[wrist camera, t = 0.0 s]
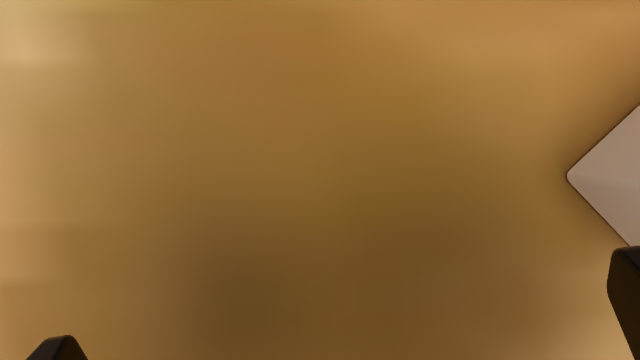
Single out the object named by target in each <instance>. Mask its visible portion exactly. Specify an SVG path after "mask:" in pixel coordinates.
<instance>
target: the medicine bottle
mask: <svg viewBox="0 0 640 360" xmlns="http://www.w3.org/2000/svg"><path fill="white" fill-rule="evenodd" d="M567 179H568V181H569V182H570V183H571V184H572V186H573V187H574V188H575V189H576V190H577V191H578V192H579V193H580V194H581V195H582V196H583V197H584V198H585V199H586V200H587V201H588V202H589V203H590V204H591V205H592V207H593V208H594V209H595V210H596V211H597V212H598V213H599V214H600V215H601V216H602V217H603V218H604V219H605V220H606V221H607V222H608V223H609V224H610V225H611V226H612V228H613V229H614V230H615V231H616V232H617V233H618V234H619V235H620V236H621V237H622V238H623V239H624V240H625V241H626V242H627V243H628V244H629V245H630V246H636V245H638V246H640V105H639V106H638V107H637V108H636V109H635V110H634V111H632V112H631V113H630V114H629V115H628V116H627V117H626V118H625V119H624V120H623V121H622V122H621V123H620V124H619V125H617V126H616V127H615V128H614V129H613V130H612V131H611V132H610V133H609V134H608V135H607V136H606V137H605V138H603V139H602V140H601V141H600V142H599V143H598V144H597V145H596V146H595V147H594V148H593V149H592V150H591V151H589V152H588V153H587V154H586V155H585V156H584V157H583V158H582V159H581V160H580V161H579V162H578V163H577V164H575V165H574V166H573V167H572V168H571V169H570V170H569V172H568V173H567Z"/></svg>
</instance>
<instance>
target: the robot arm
mask: <svg viewBox="0 0 640 360" xmlns="http://www.w3.org/2000/svg"><path fill="white" fill-rule="evenodd" d="M607 293H608V297H609V300H610V302H611V304H612V307H613V309H614V312H615V314H616V316H617V319H618V321H619V324H620V326H621V328H622V331H623V333H624V335H625V338H626V340H627V343H628V345H629V347H630V350H631V352H632V355H633V357H634V359H635V360H640V246H638V245H636V246H629V247H623V248H617V249H615V250H614V251H613V253H612V256H611V261H610V267H609V273H608V279H607ZM26 360H88V359H87V357H86V356H85V354H84V352H83V351H82V349H81V347H80V346H79V344H78V342H77V341H76V339H75V338H74V337H73V336H71V335H64V336H57V337H51V338H48V339H46V340H44V341H43V342H42V343H41V344H40V345H39V346H38V347H37V348H36V349H35V350H34V351H33V353H32V354H31V355H30V356H29V357H28V358H27V359H26Z"/></svg>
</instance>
